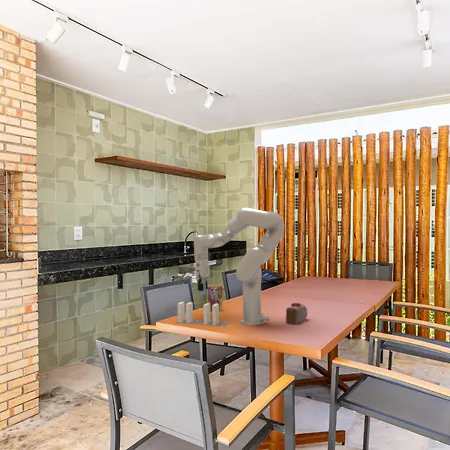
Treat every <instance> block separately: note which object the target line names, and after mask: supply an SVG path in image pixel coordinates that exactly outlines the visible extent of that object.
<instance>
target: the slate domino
mask: <svg viewBox="0 0 450 450" xmlns="http://www.w3.org/2000/svg"><path fill="white" fill-rule="evenodd" d="M199 278H201V277H199ZM200 280H201V279H200ZM203 288H204V290H203V291H199V296H200V297H203V296H205V295H207V289H206V278H203Z"/></svg>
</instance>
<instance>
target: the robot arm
mask: <svg viewBox="0 0 450 450" xmlns="http://www.w3.org/2000/svg"><path fill="white" fill-rule="evenodd" d="M249 227H256V228H261V229H265V230H266V229H267V230H266V232H265V233H264V234H263V236H262V238H261V239H260V241H259V243H258V244H257V245H255V246H251V247H250V248H249V249H248V250H247V251H246V253H245V254H244V256H243V258H242V260H241V261H240V263H239V265H238V266H237V269H236V271H235V276H236V279H237V280H238V282H240V283H242V310H243V311H242V314H243V316H242V317H243V318H242V319H241V320H240V324H242V325H246V326H261V325H263V324H265V322H266V321H267V322H269V321H270V316H266V315H264V313H263V312H262V276H263V273H262V271H263V270H262V267H261V266H262V265H264V264H266V263H267V262H268V261H269V260H270V259H271V256H272V255H273V253H274V251H275V249H276V248H277V246H278V244H279V242H280V241H281V239H282V237H283V236H284V232H285V222H284V220H283V217H282V216H281V215H280V214H279V213H277V212H274V211H265V210H259V209H256V208H254V207H246V206H245V207H242V208H240V209H238V211H237V215H235V216H234V217H232V218H231V219H229V220H227V225H226V227H224V228H223V229H221V230H220V231H219V232H216V233H209V234H196V235H194V236H193V248H194V249H193V250H194V251H193V253H194V261H195V264H194V275H195V281H196V283H197V284H196V285H197V291H199V292H200V291H203V290H204V288H203V278H206V290H207V289H208V285H209V284H208V277H210V275H211V273H210V263H209V249H213V248H214V249H215V248H219V247H223V246H224V245H226V244H227V243H229V242H230V241H231V240H233V239H234V238H235V237H236V236H237V235H238V234H240V233H241V232H243V231H244V230H246V229H247V228H249ZM199 277H201V278H199ZM200 279H201V280H200Z"/></svg>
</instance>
